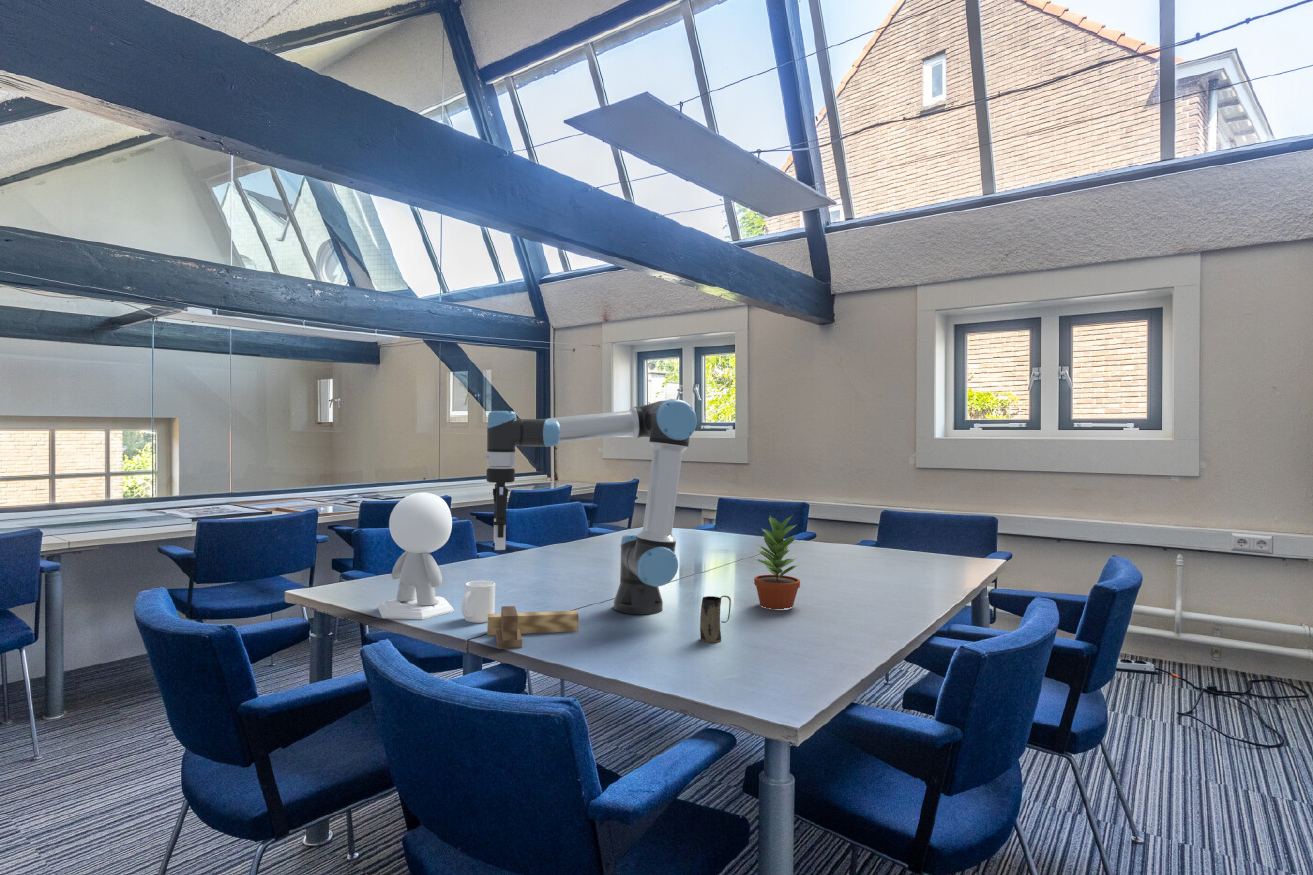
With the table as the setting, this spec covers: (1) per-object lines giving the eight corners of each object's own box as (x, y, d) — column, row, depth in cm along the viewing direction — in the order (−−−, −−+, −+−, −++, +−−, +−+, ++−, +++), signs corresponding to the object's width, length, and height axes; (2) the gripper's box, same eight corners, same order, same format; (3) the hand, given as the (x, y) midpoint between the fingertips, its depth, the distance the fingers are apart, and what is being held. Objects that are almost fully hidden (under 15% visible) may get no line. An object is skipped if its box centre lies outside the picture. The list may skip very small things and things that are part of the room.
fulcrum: (519, 636, 182) (519, 605, 182) (521, 647, 173) (522, 615, 173) (495, 637, 181) (496, 606, 181) (497, 648, 171) (498, 616, 171)
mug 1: (473, 628, 189) (474, 590, 189) (449, 624, 192) (450, 587, 192) (500, 618, 200) (501, 582, 200) (476, 614, 203) (477, 579, 203)
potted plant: (751, 600, 230) (753, 509, 230) (797, 602, 228) (800, 511, 227) (751, 611, 215) (753, 514, 215) (801, 614, 213) (803, 516, 213)
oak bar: (576, 628, 192) (576, 610, 192) (578, 631, 189) (578, 613, 189) (487, 632, 186) (487, 614, 186) (487, 636, 182) (488, 617, 182)
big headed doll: (468, 607, 210) (471, 492, 210) (404, 624, 191) (408, 497, 191) (425, 598, 221) (427, 488, 221) (360, 612, 201) (363, 492, 201)
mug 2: (697, 641, 182) (698, 595, 182) (702, 635, 187) (703, 591, 187) (726, 645, 179) (728, 598, 179) (731, 639, 184) (732, 594, 184)
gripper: (486, 465, 199) (484, 538, 199) (487, 470, 175) (485, 553, 175) (512, 465, 201) (511, 538, 201) (517, 470, 177) (515, 553, 177)
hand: (499, 545), depth 188 cm, fingers open, 13 cm apart
